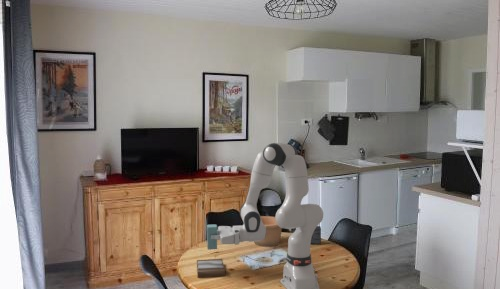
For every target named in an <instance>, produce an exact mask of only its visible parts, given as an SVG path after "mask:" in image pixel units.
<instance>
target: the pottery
mask: <svg viewBox="0 0 500 289" xmlns="http://www.w3.org/2000/svg"><path fill="white" fill-rule="evenodd" d="M260 217H261V220H262V222H263V224H264V226H265V227H266V236H265V238H264V239H263V240H261V241H253V243H254V244H255V245H256V246H260V247H265V248H267V247H276V246H278V245H279V244H280V242H281V237H282V230H283V228H280V227H279V226H278V225H277V223H276V219H275V216H268V215H267V216H264V215H260Z"/></svg>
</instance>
